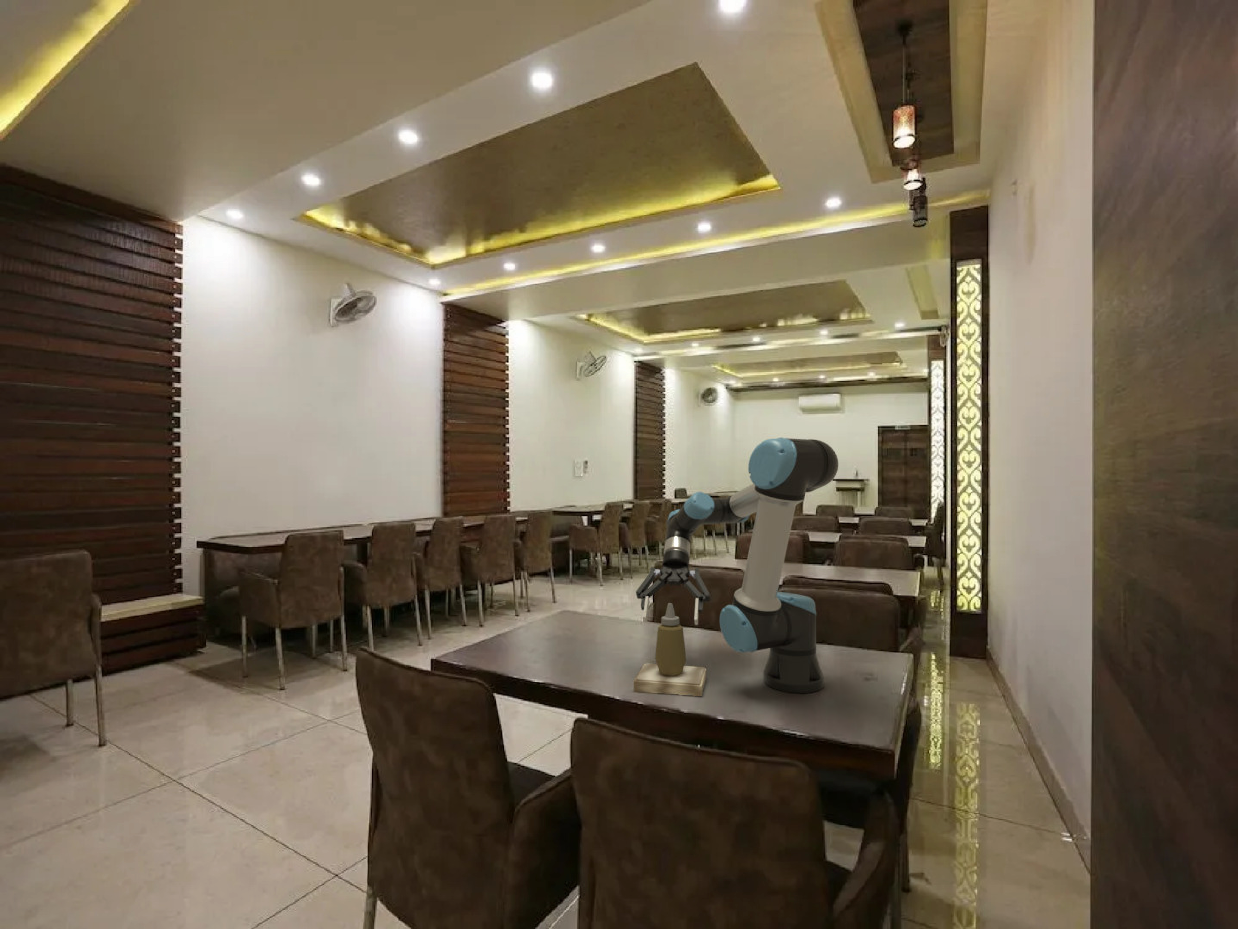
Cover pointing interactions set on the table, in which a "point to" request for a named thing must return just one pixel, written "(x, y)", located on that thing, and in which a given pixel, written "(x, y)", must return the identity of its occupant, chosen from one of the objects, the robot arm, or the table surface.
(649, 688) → the stand
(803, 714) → the table surface
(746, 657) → the table surface
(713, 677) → the table surface
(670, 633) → the squeeze bottle
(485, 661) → the table surface
